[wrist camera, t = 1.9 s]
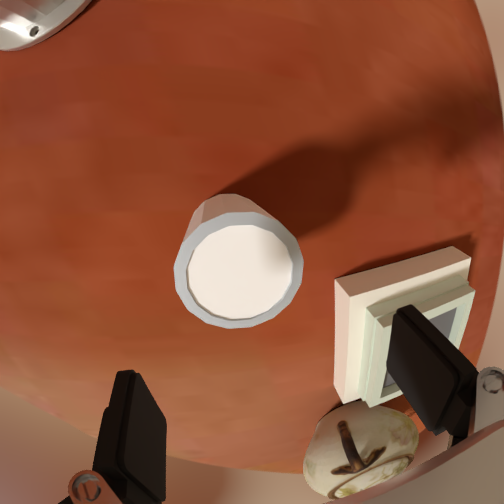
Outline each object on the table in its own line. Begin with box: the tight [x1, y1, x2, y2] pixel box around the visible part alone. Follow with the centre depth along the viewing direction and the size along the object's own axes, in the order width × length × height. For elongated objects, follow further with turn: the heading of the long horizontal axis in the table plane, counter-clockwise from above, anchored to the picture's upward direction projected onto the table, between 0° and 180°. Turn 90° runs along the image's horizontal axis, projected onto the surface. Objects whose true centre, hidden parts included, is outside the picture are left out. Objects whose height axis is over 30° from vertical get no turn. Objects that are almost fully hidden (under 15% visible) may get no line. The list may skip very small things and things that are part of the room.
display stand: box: [334, 246, 475, 408], centre depth 26 cm, size 14×14×6 cm
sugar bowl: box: [303, 401, 419, 499], centre depth 28 cm, size 20×15×15 cm
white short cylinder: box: [174, 194, 304, 329], centre depth 19 cm, size 7×7×7 cm
